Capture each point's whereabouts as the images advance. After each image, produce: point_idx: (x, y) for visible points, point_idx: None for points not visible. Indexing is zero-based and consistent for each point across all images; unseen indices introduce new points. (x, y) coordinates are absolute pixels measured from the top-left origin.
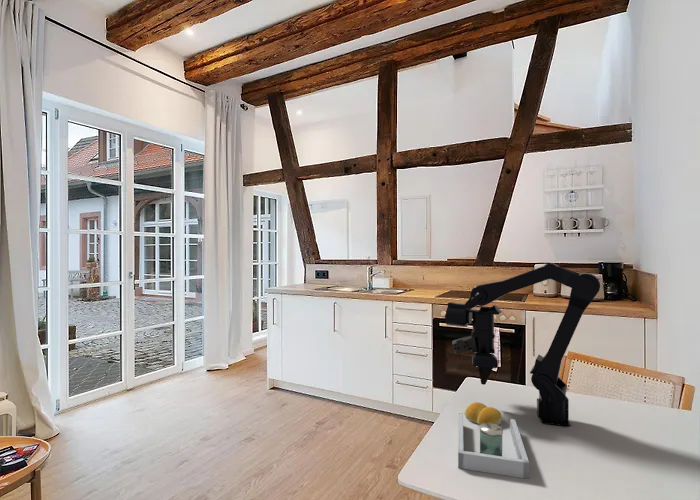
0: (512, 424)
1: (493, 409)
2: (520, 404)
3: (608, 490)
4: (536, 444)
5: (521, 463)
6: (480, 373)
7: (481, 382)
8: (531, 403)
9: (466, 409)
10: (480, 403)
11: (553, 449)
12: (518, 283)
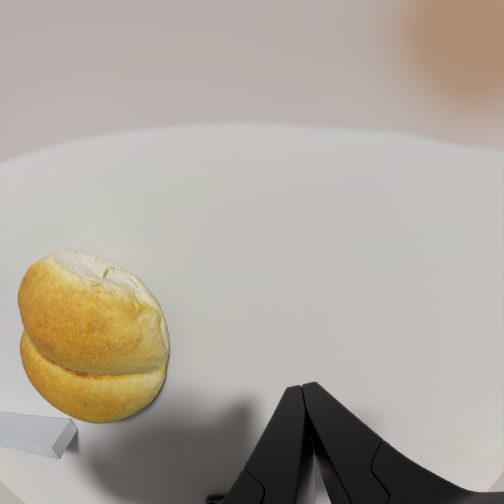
0: (21, 443)
1: (66, 409)
2: None
3: (17, 493)
4: (56, 459)
5: None
6: (245, 479)
7: (283, 399)
8: None
9: (34, 271)
10: (75, 356)
11: (65, 480)
12: None
